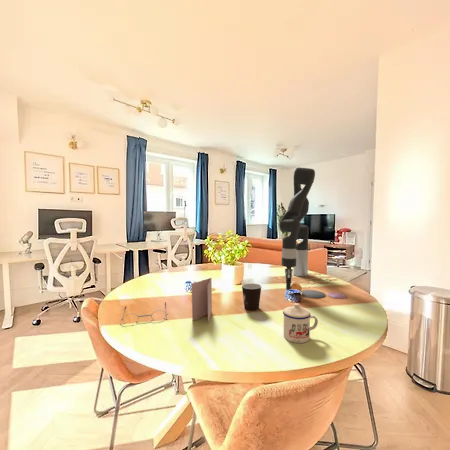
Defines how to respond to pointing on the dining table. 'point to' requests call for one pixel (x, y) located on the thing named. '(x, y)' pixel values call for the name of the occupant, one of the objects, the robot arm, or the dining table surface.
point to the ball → (296, 286)
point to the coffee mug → (251, 296)
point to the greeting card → (202, 299)
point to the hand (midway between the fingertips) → (288, 289)
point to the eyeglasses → (143, 315)
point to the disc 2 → (337, 295)
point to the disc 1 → (313, 294)
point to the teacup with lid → (297, 324)
